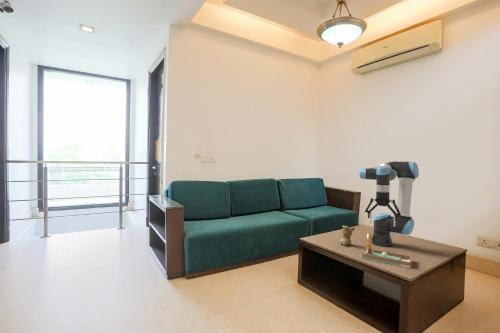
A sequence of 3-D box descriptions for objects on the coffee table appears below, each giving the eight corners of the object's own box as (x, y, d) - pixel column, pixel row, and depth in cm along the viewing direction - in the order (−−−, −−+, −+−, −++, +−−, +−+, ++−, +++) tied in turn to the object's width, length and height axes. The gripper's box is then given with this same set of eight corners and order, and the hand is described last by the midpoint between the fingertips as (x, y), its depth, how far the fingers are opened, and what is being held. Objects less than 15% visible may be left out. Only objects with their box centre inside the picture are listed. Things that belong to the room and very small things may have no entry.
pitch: (365, 252, 188) (365, 247, 187) (412, 261, 172) (412, 255, 172) (362, 258, 177) (362, 252, 176) (411, 268, 161) (411, 262, 161)
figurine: (350, 242, 208) (351, 223, 207) (355, 246, 200) (355, 226, 199) (338, 242, 208) (338, 223, 207) (342, 246, 199) (342, 226, 199)
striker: (366, 252, 184) (366, 233, 183) (373, 253, 181) (374, 234, 181) (364, 254, 179) (365, 235, 178) (372, 256, 176) (372, 236, 176)
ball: (381, 255, 178) (381, 250, 178) (387, 257, 176) (387, 251, 176) (380, 257, 175) (381, 252, 175) (386, 258, 173) (387, 253, 173)
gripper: (360, 190, 171) (360, 223, 172) (405, 193, 158) (404, 228, 160) (362, 189, 177) (361, 220, 179) (405, 191, 165) (404, 225, 166)
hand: (382, 224), depth 169 cm, fingers open, 13 cm apart
